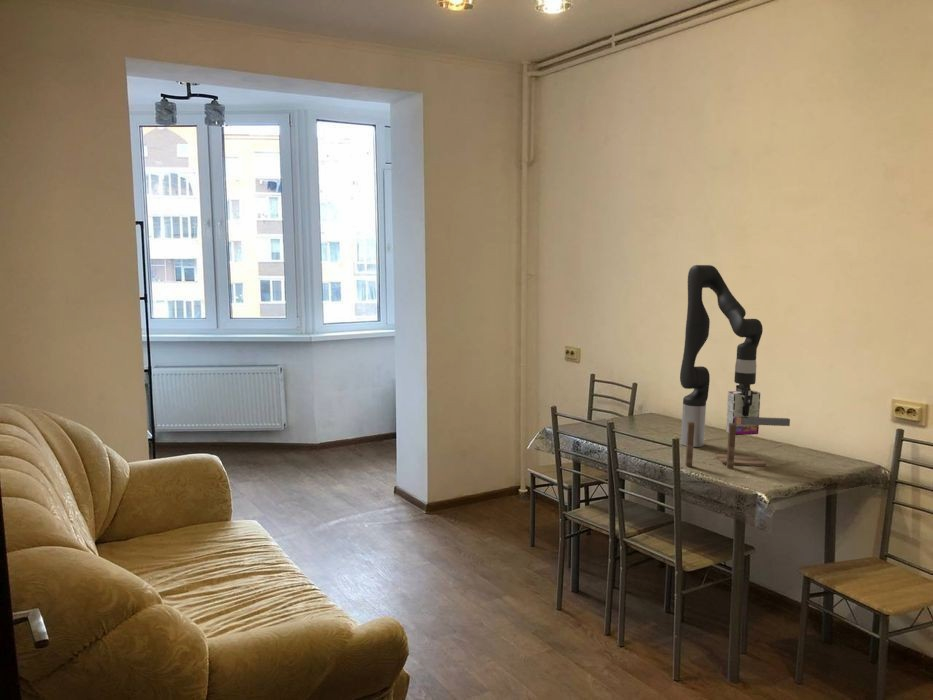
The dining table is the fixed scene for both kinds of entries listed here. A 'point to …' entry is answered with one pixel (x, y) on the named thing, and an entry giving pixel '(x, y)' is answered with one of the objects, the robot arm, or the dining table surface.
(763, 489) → the dining table surface
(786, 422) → the bar
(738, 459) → the walnut board
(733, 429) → the posts
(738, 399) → the candy bar box
